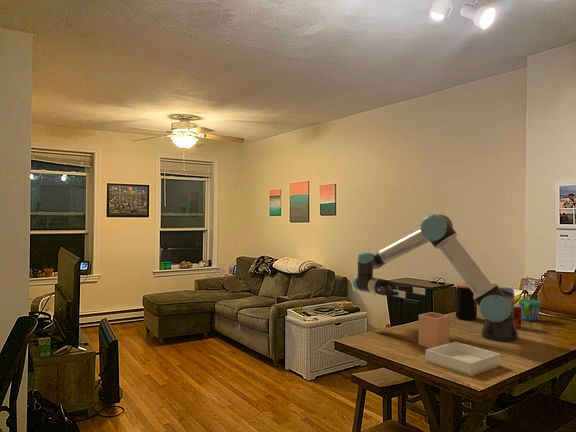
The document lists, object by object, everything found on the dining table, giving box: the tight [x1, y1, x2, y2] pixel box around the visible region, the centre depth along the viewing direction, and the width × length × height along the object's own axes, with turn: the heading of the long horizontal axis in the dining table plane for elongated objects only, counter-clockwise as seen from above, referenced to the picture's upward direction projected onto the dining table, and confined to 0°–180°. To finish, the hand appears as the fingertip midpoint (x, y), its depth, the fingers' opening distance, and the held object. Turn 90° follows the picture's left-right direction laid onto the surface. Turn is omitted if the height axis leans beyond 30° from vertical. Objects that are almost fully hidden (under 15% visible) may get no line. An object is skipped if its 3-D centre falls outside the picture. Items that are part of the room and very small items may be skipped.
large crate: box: [425, 341, 501, 377], centre depth 168 cm, size 19×19×4 cm
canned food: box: [514, 303, 522, 330], centre depth 223 cm, size 8×8×11 cm
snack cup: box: [518, 298, 542, 322], centre depth 238 cm, size 16×10×10 cm
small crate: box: [417, 311, 450, 349], centre depth 191 cm, size 9×9×13 cm
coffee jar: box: [455, 283, 478, 321], centre depth 241 cm, size 11×11×18 cm
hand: (415, 293), depth 199 cm, fingers open, 13 cm apart
